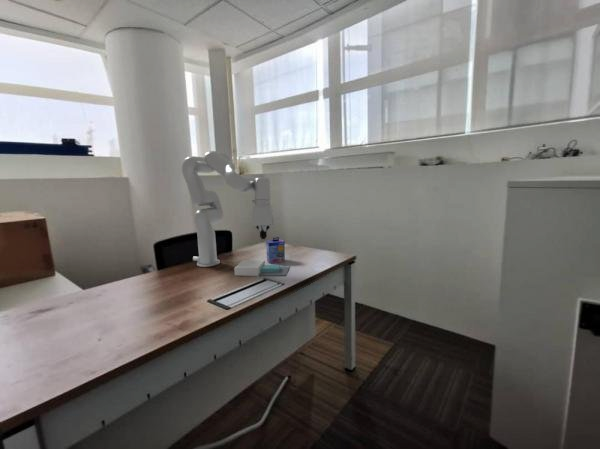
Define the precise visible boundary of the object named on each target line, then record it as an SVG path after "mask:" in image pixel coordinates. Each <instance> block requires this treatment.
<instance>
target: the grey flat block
mask: <svg viewBox="0 0 600 449" xmlns="http://www.w3.org/2000/svg"><path fill="white" fill-rule="evenodd" d="M265 261H266V260H265V259H242V260H241V261H240V262H239V263H237V265H236V266H235V267H234V276H245V277H247V276H250V277H251V276H252V277H254V276H256V277H260V274H261V270H260V268H261V267H262V266H263V265H266V263H265Z"/></svg>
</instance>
